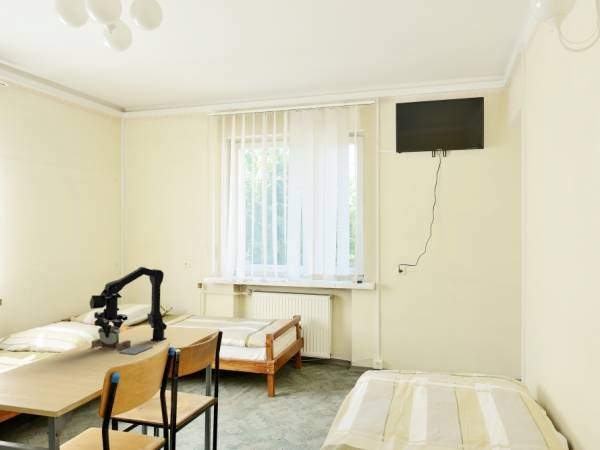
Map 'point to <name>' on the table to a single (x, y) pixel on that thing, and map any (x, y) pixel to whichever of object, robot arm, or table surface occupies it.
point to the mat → (136, 349)
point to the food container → (110, 338)
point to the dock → (119, 346)
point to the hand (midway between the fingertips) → (111, 336)
